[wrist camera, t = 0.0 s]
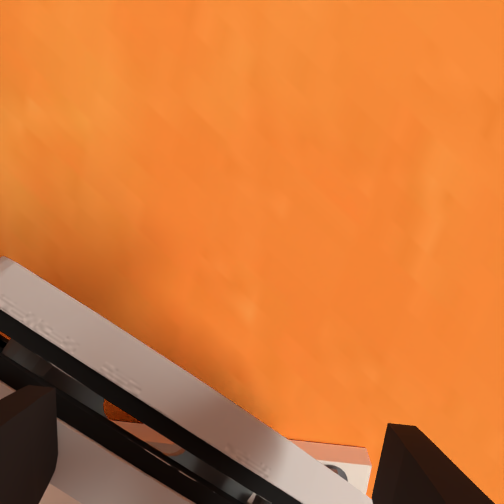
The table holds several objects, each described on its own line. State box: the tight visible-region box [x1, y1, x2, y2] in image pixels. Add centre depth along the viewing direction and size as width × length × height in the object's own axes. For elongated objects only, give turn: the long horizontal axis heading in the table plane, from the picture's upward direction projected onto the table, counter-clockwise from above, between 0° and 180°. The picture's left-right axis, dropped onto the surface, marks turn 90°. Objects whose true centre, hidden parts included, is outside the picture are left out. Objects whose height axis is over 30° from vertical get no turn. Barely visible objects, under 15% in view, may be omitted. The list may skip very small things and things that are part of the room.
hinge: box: [0, 256, 373, 504], centre depth 14 cm, size 17×5×10 cm
